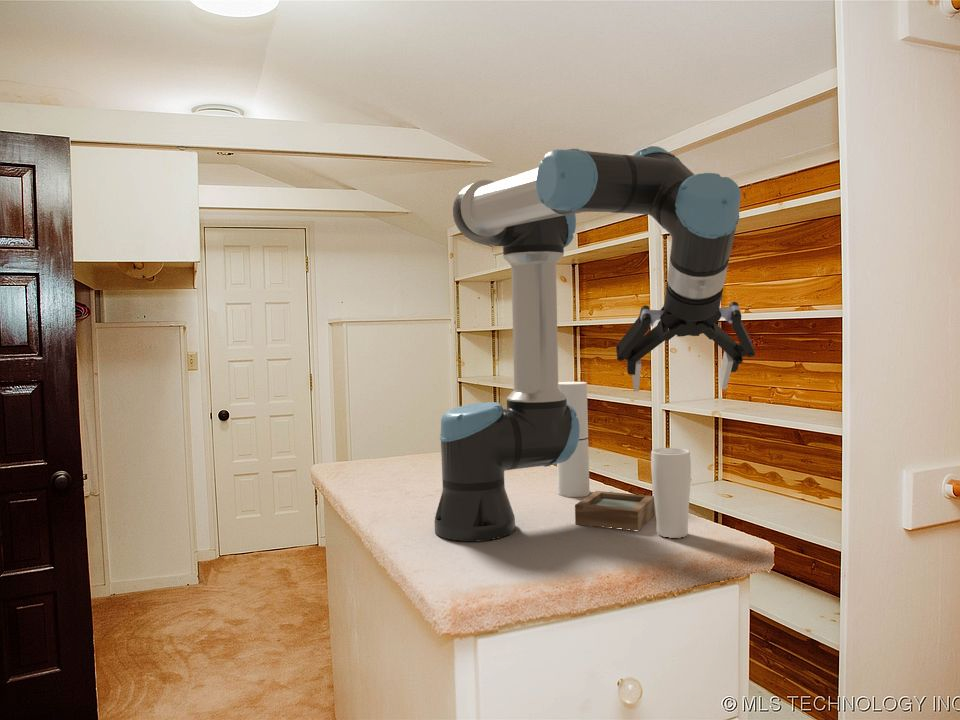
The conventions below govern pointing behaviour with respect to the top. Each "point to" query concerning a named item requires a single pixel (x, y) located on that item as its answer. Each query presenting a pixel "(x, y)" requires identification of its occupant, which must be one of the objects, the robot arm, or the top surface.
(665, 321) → the robot arm
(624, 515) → the wooden tray
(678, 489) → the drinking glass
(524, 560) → the top surface
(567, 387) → the cylindrical container
